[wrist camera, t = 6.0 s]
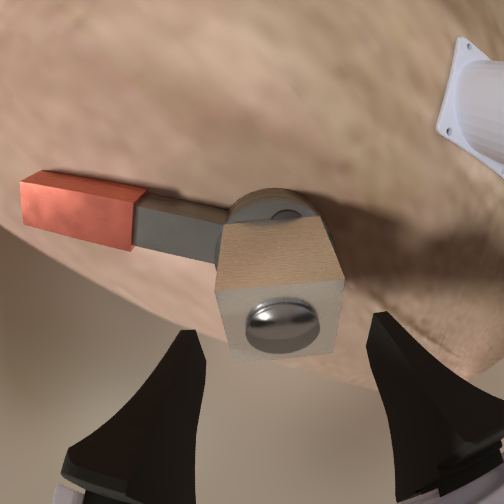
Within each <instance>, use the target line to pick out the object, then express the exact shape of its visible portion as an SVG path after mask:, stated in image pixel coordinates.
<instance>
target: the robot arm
mask: <svg viewBox="0 0 504 504" xmlns="http://www.w3.org/2000/svg"><path fill="white" fill-rule="evenodd" d="M467 45H468V47H469V49H468V48H467ZM447 129H449V133H448V134H447ZM436 131H437V133H438V134H440V135H441V136H443V137H445V138H446V139H448V140H449V141H451V142H453V143H454V144H456V145H457V146H459V147H460V148H462V149H463V150H465V151H466V152H468V153H469V154H471V155H472V156H474V157H475V158H476V159H478V160H479V161H481V162H482V163H483V164H485V165H486V166H487V167H489V168H490V169H491V170H493V171H494V172H495V173H497V174H498V175H499V176H500V177H502V178H503V179H504V61H492V60H491V59H489V58H488V57H487V56H486V55H485V54H484V53H483V52H482V51H480V50H479V49H478V48H477V47H476V46H475V45H473V44H472V43H471V42H470V41H468V40H467V39H466V38H464V37H458V38H457V41H456V47H455V52H454V57H453V62H452V67H451V71H450V76H449V80H448V84H447V88H446V92H445V96H444V99H443V103H442V107H441V110H440V114H439V117H438V120H437V124H436ZM366 349H367V354H368V358H369V362H370V367H371V370H372V373H373V375H374V378H375V381H376V384H377V387H378V390H379V393H380V395H381V398H382V401H383V404H384V407H385V410H386V414H387V418H388V423H389V428H390V434H391V439H392V446H393V455H394V465H395V496H396V501H397V504H504V452H502V453H501V452H500V448H501V447H502V442H501V439H502V438H504V400H502V399H499V398H497V397H495V396H492V395H490V394H488V393H486V392H484V391H482V390H481V389H479V388H477V387H475V386H473V385H472V384H470V383H469V382H467V381H465V380H464V379H462V378H461V377H459V376H458V375H456V374H455V373H454V372H452V371H451V370H450V369H448V368H447V367H446V366H444V365H443V364H442V363H441V362H439V361H438V360H437V359H436V358H435V357H434V356H432V355H431V354H430V353H429V352H428V351H427V350H426V349H425V348H423V347H422V346H421V345H420V344H419V343H418V342H417V341H416V340H415V339H414V338H413V337H412V336H411V335H410V334H409V333H408V332H407V331H406V330H405V329H404V328H403V327H402V326H401V325H400V324H399V323H398V322H397V321H396V320H395V319H394V318H393V317H392V316H391V315H390V314H389V313H388V312H387V311H385V312H379V313H374V314H373V318H372V323H371V327H370V332H369V336H368V340H367V344H366ZM205 376H206V359H205V356H204V353H203V350H202V348H201V345H200V342H199V339H198V336H197V333H196V330H181V331H180V332H179V334H178V335H177V337H176V338H175V340H174V341H173V343H172V344H171V346H170V348H169V349H168V351H167V352H166V354H165V355H164V357H163V358H162V360H161V361H160V362H159V364H158V365H157V367H156V368H155V370H154V371H153V372H152V374H151V375H150V376H149V377H148V379H147V380H146V381H145V383H144V384H143V385H142V386H141V388H140V389H139V390H138V391H137V392H136V394H135V395H134V396H133V397H132V398H131V399H130V400H129V401H128V402H127V403H126V404H125V405H124V406H123V407H122V408H121V409H120V410H119V411H118V412H117V413H116V414H115V415H114V416H113V417H112V418H111V419H110V420H108V421H107V422H106V423H105V424H103V425H102V426H101V427H100V428H98V429H97V430H96V431H94V432H93V433H92V434H91V435H89V436H87V437H86V438H84V439H83V440H81V441H80V442H78V443H76V444H75V445H73V446H71V447H69V449H68V451H67V454H66V457H65V460H64V463H63V467H62V470H61V475H62V476H63V477H64V478H65V479H67V480H69V481H71V482H72V483H74V484H76V485H78V486H80V487H82V488H84V489H86V491H85V494H82V493H80V492H78V491H75V490H73V489H70V488H68V487H66V486H63V485H61V484H57V486H56V490H55V493H54V497H53V502H52V504H196V496H195V447H196V432H197V425H198V420H199V414H200V409H201V403H202V397H203V392H204V385H205ZM421 494H422V495H421ZM419 495H420V496H419ZM416 496H417V497H416ZM413 497H415V498H413ZM411 498H412V499H411ZM408 499H409V500H408ZM405 500H406V501H405ZM402 501H403V502H402ZM399 502H400V503H399Z"/></svg>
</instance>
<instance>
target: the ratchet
mask: <svg viewBox="0 0 504 504" xmlns="http://www.w3.org/2000/svg"><path fill="white" fill-rule="evenodd" d="M20 190H21V204H22V214H23V223H24V225H28V226H32V227H35V228H39V229H43V230H46V231H50V232H54V233H58V234H62V235H65V236H69V237H73V238H77V239H81V240H85V241H89V242H93V243H97V244H101V245H105V246H109V247H113V248H117V249H121V250H125V251H129V252H131V251H132V249H133V248H134V246H138V247H143V248H147V249H151V250H156V251H160V252H164V253H169V254H173V255H177V256H182V257H186V258H191V259H195V260H200V261H204V262H209V263H213V264H215V267H216V271H217V267H218V260H219V253H220V246H221V239H222V232H223V226H224V225H225V224H235V223H245V222H255V221H266V220H277V219H288V218H300V217H313V216H320V218H321V221H322V223H323V225H324V228H325V230H326V232H327V235H328V237H329V240H330V242H331V244H332V247H333V249H334V243H333V239H332V236H331V234H330V231H329V230H328V228H327V226H326V224H325V222H324V220H323V218H322V216H321V215H320V213H319V211H318V210H317V208H316V207H315V206H314V205H313V204H312V203H311V202H310V201H309V200H308V199H306V198H305V197H303V196H302V195H300V194H298V193H296V192H293V191H290V190H286V189H279V188H268V189H262V190H257V191H254V192H251V193H249V194H247V195H245V196H243V197H242V198H240V199H239V200H237V201H236V202H235V203H234V204H233V205H232V206H231V207H230V208H229V209H228V210H224V209H220V208H215V207H211V206H206V205H202V204H197V203H192V202H188V201H183V200H178V199H173V198H169V197H164V196H159V195H154V194H149V193H147V192H148V189H146V188H141V187H136V186H131V185H125V184H120V183H114V182H109V181H103V180H97V179H91V178H86V177H79V176H73V175H67V174H61V173H54V172H48V171H39V172H37V173H35V174H33V175H31V176H29V177H27V178H26V179H24V180H22V181H20ZM334 252H335V249H334Z"/></svg>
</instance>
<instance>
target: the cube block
mask: <svg viewBox="0 0 504 504" xmlns="http://www.w3.org/2000/svg"><path fill="white" fill-rule="evenodd" d="M344 284H345V277H344V275H343V272H342V269H341V267H340V264H339V262H338V259H337V257H336V254H335V252H334V249H333V247H332V244H331V242H330V240H329V237H328V235H327V232H326V230H325V228H324V225H323V223H322V221H321V218H320V216H313V217H300V218H288V219H277V220H266V221H255V222H245V223H235V224H225V225H224V226H223V232H222V239H221V246H220V253H219V260H218V267H217V275H216V282H215V290H214V291H215V295H216V299H217V303H218V307H219V310H220V314H221V318H222V322H223V325H224V329H225V332H226V336H227V340H228V343H229V347H230V350H231V354H232V357H233V360H234V362H247V361H263V360H276V359H287V358H297V357H306V356H314V355H322V354H330V353H333V351H334V345H335V340H336V335H337V329H338V323H339V317H340V311H341V304H342V298H343V291H344Z"/></svg>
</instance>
